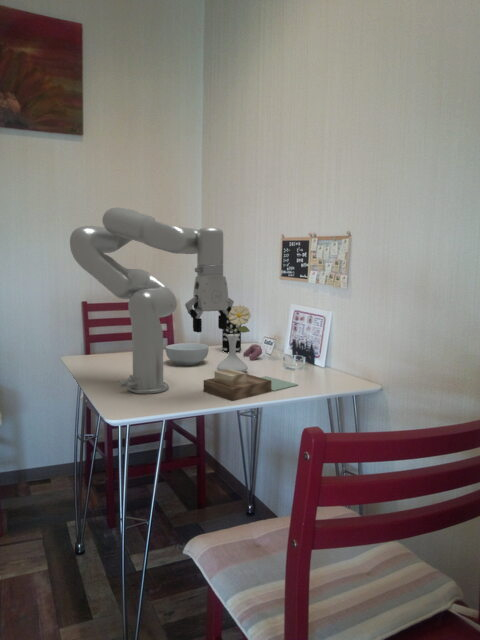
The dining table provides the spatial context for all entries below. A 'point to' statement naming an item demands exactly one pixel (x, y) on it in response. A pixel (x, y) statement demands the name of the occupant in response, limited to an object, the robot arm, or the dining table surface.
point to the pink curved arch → (253, 352)
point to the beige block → (230, 377)
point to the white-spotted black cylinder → (228, 331)
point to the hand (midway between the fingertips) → (210, 330)
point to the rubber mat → (279, 384)
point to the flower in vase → (235, 339)
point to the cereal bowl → (187, 353)
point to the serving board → (238, 388)
